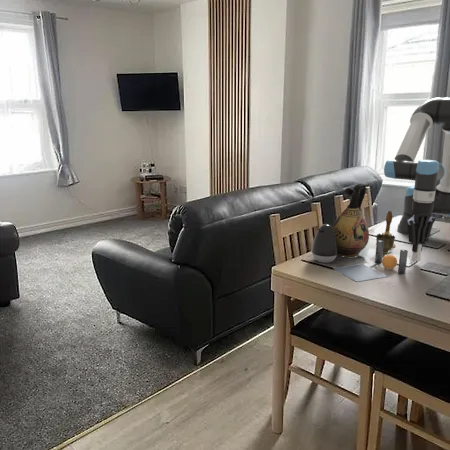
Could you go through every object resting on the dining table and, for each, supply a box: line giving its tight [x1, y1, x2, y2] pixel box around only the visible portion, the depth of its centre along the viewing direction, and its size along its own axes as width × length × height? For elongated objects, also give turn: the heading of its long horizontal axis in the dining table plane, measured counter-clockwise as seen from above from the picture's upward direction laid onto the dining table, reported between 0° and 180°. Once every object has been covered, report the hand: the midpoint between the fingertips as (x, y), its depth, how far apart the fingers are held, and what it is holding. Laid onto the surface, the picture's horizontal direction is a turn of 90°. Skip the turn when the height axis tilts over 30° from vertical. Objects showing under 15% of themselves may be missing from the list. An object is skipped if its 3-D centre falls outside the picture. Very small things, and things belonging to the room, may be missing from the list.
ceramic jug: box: [332, 183, 370, 258], centre depth 184 cm, size 17×15×30 cm
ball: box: [381, 254, 398, 270], centre depth 171 cm, size 6×6×6 cm
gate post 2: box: [397, 249, 409, 276], centre depth 165 cm, size 3×3×9 cm
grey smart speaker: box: [311, 223, 338, 264], centre depth 177 cm, size 10×10×15 cm
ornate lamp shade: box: [376, 232, 396, 256], centre depth 188 cm, size 8×7×8 cm
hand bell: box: [375, 210, 396, 249], centre depth 198 cm, size 8×8×16 cm
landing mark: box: [332, 263, 389, 283], centre depth 167 cm, size 14×14×1 cm
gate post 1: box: [374, 240, 384, 265], centre depth 177 cm, size 3×3×9 cm
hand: (415, 259), depth 177 cm, fingers closed
